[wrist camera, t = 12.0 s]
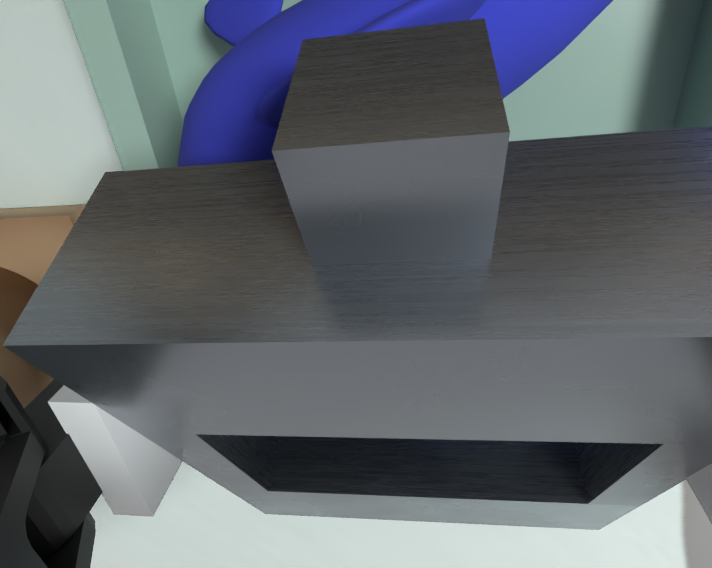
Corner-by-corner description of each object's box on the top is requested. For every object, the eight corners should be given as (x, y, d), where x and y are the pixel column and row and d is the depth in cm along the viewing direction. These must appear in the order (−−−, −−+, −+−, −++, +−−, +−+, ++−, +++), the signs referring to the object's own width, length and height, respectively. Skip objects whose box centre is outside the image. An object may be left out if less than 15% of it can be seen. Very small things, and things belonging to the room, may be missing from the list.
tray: (98, -93, 11) (21, -119, 9) (792, -206, 9) (912, -278, 7) (241, 392, 19) (218, 440, 17) (626, 399, 17) (656, 455, 15)
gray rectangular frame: (282, 413, 15) (265, 513, 13) (31, 71, 6) (-140, 256, 4) (573, 416, 13) (598, 529, 12) (864, -26, 4) (1185, 189, 3)
